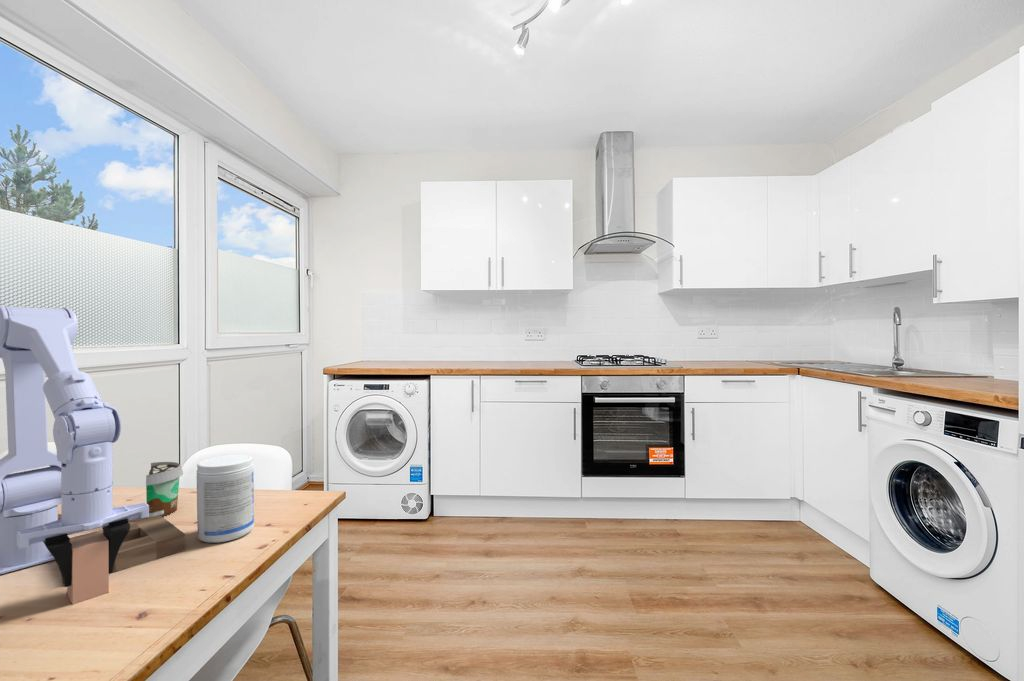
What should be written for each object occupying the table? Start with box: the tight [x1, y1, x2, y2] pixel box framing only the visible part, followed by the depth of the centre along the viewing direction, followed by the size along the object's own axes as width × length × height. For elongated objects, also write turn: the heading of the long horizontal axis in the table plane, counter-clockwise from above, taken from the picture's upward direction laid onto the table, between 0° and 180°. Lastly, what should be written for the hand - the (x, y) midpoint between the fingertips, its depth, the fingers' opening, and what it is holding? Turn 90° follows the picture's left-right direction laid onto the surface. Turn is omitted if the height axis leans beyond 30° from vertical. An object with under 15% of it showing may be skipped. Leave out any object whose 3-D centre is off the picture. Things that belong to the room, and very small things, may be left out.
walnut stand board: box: [69, 515, 186, 574], centre depth 82 cm, size 14×14×3 cm
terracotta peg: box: [66, 533, 110, 605], centre depth 70 cm, size 4×4×8 cm
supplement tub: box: [196, 454, 255, 544], centre depth 91 cm, size 10×10×15 cm
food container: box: [145, 461, 184, 519], centre depth 102 cm, size 12×6×10 cm, turn 34°
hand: (88, 577), depth 70 cm, fingers closed on terracotta peg, 4 cm apart
